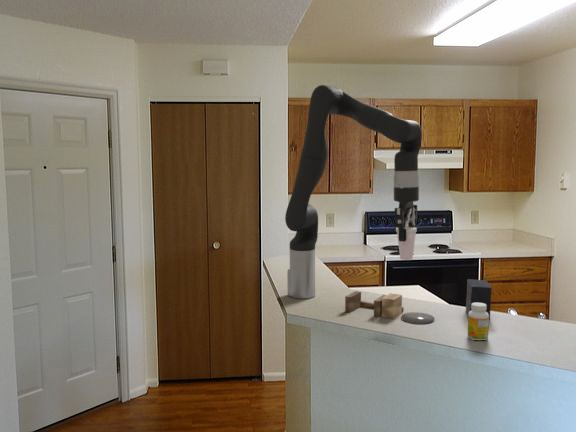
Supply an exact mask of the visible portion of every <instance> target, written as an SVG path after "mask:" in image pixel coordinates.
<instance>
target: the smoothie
mask: <svg viewBox="0 0 576 432" xmlns="http://www.w3.org/2000/svg"><path fill="white" fill-rule="evenodd" d="M417 229H418V228H417V227H415V226H413V227H408V223H407V227H406V241H399V229H398V228H397V227H395V232H396V235H397V236H396V237H397V243H398V249H399V259H400V260H401V261H402V260H403V261H411V260H413V256H414V251H415V250H414V249H415V241H416V233H417V232H418V231H417Z"/></svg>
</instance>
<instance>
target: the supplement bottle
mask: <svg viewBox="0 0 576 432" xmlns="http://www.w3.org/2000/svg"><path fill="white" fill-rule="evenodd" d="M471 309H472V310H471V311H470V312H469V313H468V314H467V318H468V319H467V338H468V339H469V338H470V339H469V340H471V339H472V341H474V340H486V339H487V340H489V323H490V322H489V321H490V320H489V314H488V313H487V312H486V309H487V305H486V304H484V303H478V302H476V303H472V304H471ZM487 340H486V341H487Z"/></svg>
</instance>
